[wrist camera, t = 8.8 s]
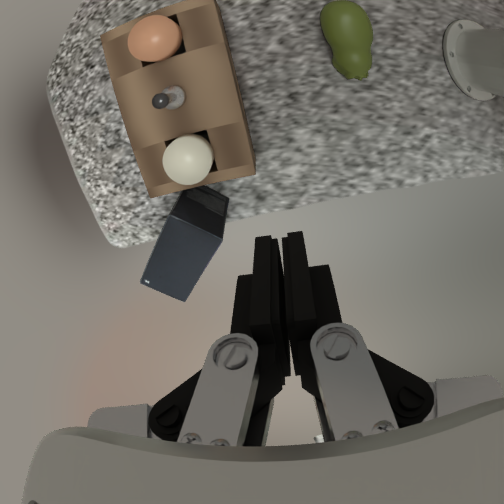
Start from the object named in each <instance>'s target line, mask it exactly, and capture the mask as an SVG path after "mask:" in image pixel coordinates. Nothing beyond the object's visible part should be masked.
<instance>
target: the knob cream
mask: <svg viewBox="0 0 504 504" xmlns="http://www.w3.org/2000/svg"><path fill="white" fill-rule="evenodd" d="M213 160H214V152H213V149H212V147H211V143H210V140H209V136H208V132H207V131H205V130H202V131H199V132H195V133H191V134H185V135H182V136H180V137H178V138H177V139H175V140H174V141H173V142H172V143H171V144H170V145H169V146H168V147H167V148H166V150H165V152H164V155H163V167H164V170H165V172H166V174H167V175H168V176H169V177H170V178H171V179H172V180H173V181H175V182H177V183H179V184H183V185H192V184H196V183H198V182H200V181H202V180H203V179H204V178H205V177H206V176H207V174H208V173H209V171H210V168H211V166H212V164H213Z"/></svg>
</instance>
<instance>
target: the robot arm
mask: <svg viewBox="0 0 504 504" xmlns="http://www.w3.org/2000/svg"><path fill="white" fill-rule="evenodd" d="M443 50H444V57H445V61H446V65H447V68H448V70H449V73H450V75H451V77H452V78H453V80H454V82H455V83H456V85H457V86H458V87H459V88H460V89H461V90H462V92H464V93H465V94H466V95H467V96H469V97H471V98H473V99H476V100H480V101H488V100H491V99H493V98H494V97H495V96H496V95H498V96H502V97H504V30H499V29H484V28H483V27H482V26H481V25H479V24H478V23H476V22H474V21H471V20H466V19H465V20H457V21H454V22H453V23H451V24H450V25H449V26H448V28H447V30H446V32H445V35H444V40H443ZM287 234H288V237H284V238H282V248H283V264H284V274H283V268H282V262H281V256H280V250H279V245H278V240H277V239H272V238H271V235H269V236H261V237H256V238H255V250H254V263H253V274H248V275H240V276H238V279H237V286H236V293H235V301H234V308H233V316H232V325H231V332H230V334H228V335H225V336H223V337H221V338H220V339H218V340H216V341H215V343H214V344H213V345H212V346H211V348H210V349H209V351H208V354H207V357H206V360H205V363H204V365H203V368H202V369H201V370H200V371H199V372H197V373H196V374H195V375H193V376H192V377H191V378H189V379H188V380H187V381H185V382H184V383H183V384H181V385H180V386H179V387H177V388H176V389H174V390H173V391H172V392H170V393H169V394H168V395H166V396H165V397H164V398H162V399H161V400H159V401H158V402H157V403H156V404H155V405H154V406H149V405H148V404H140V405H131V406H120V407H108V408H100V409H97V410H96V411H95V412H93V413H92V415H91V416H90V418H89V421H88V427H68V428H63V429H59V430H56V431H53V432H51V433H49V434H47V435H46V436H45V437H44V438H43V439H42V440H41V442H40V443H39V445H38V447H37V449H36V451H35V453H34V456H33V459H32V461H31V465H30V468H29V471H28V475H27V479H26V483H25V487H24V492H23V498H22V504H504V398H503V393H502V388H501V385H500V383H499V382H498V380H497V379H495V378H494V377H492V376H489V375H482V376H473V377H463V378H451V379H436V381H435V382H426V381H424V380H423V379H421V378H419V377H418V376H416V375H414V374H412V373H410V372H408V371H407V370H405V369H403V368H401V367H399V366H397V365H395V364H394V363H392V362H390V361H388V360H386V359H384V358H383V357H381V356H379V355H377V354H375V353H373V352H372V351H370V350H368V349H367V347H366V345H365V343H364V340H363V338H362V336H361V334H360V333H359V331H358V330H357V329H355V328H354V327H353V326H351V325H348V324H345V323H342V320H341V315H340V310H339V306H338V302H337V297H336V293H335V288H334V284H333V280H332V275H331V272H330V268H329V265H321V266H313V267H308V261H307V255H306V249H305V244H304V238H303V233H302V231H298V232H291V233H287ZM289 340H290V342H289ZM290 346H291V352H292V358H293V364H294V370H295V375H296V376H297V375H301V382H302V388H303V389H305V390H306V391H308V392H309V393H310V394H312V395H313V396H314V402H315V406H316V410H317V414H318V418H319V422H320V426H321V430H322V434H323V439H324V442H323V443H315V444H303V445H291V446H265V445H266V440H267V436H268V430H269V425H270V420H271V415H272V410H273V405H274V397H275V396H276V395H277V394H278V393H279V392H280V391H281V390H282V385H285V377H287V376H291V369H290Z"/></svg>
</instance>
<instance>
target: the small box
mask: <svg viewBox="0 0 504 504" xmlns="http://www.w3.org/2000/svg"><path fill="white" fill-rule="evenodd" d="M228 203H229V198H227V197H226V196H224V195H222V194H220V193H218V192H216V191H214V190H212V189H211V188H209V187H207V186H205V185H203V186H198V187H194V188H190V189H186V190H182V191H181V193H180V195H179V197H178V199H177V201H176V203H175V205H174V206H173V208H172V210H171V212H170V214H169V216H168V218H167V220H166V222H165V224H164V226H163V228H162V231H161V233H160V235H159V237H158V239H157V242H156V244H155V246H154V249H153V251H152V253H151V256H150V258H149V260H148V263H147V265H146V268H145V270H144V273H143V275H142V278H141V280H140V283H141V284H143V285H146V286H148V287H150V288H152V289H154V290H157V291H159V292H161V293H164V294H166V295H169V296H171V297H173V298H175V299H178V300H181V301H183V302H185V301H186V300H187V298H188V296H189V295H190V293H191V291H192V290H193V288H194V286H195V285H196V283H197V281H198V280H199V278H200V276H201V275H202V273H203V271H204V270H205V268H206V267H207V265H208V263H209V262H210V260H211V259H212V257H213V255H214V254H215V252H216V251H217V249H218V247H219V246H220V244H221V243H222V241H223V234H224V227H225V221H226V215H227V208H228Z"/></svg>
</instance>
